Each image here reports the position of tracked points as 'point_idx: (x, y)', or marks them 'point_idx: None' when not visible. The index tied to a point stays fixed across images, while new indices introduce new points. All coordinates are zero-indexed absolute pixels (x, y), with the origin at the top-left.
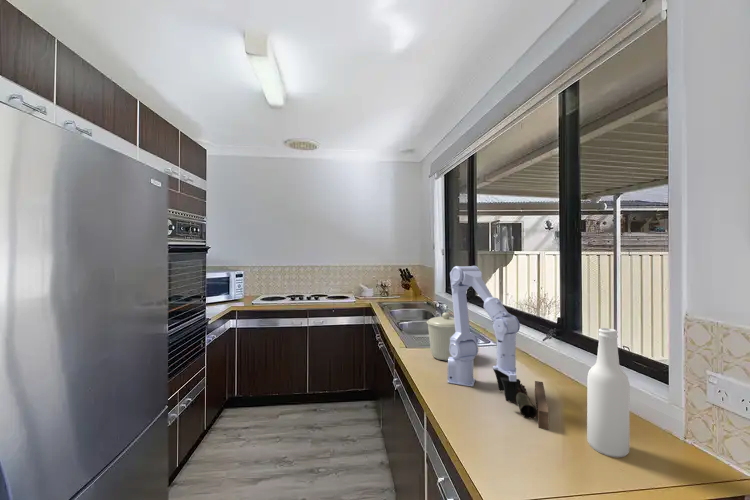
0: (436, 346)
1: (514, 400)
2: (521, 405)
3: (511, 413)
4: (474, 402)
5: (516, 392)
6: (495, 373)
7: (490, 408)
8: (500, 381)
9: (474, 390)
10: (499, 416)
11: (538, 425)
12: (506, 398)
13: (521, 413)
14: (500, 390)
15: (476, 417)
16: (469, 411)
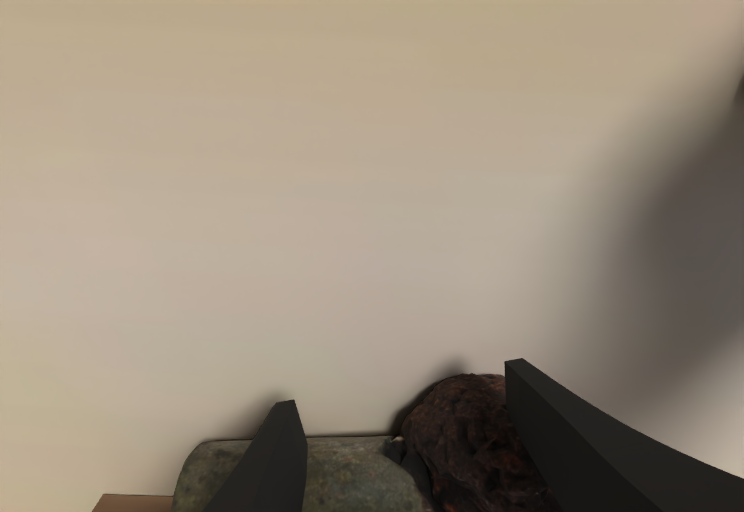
0: None
1: (406, 427)
2: (194, 501)
3: (246, 375)
4: (364, 91)
5: (449, 490)
6: (686, 496)
7: (277, 236)
8: (565, 445)
9: (657, 106)
10: (151, 295)
11: (131, 496)
12: (266, 420)
13: (199, 448)
14: (506, 369)
15: (18, 94)
16: (121, 21)
